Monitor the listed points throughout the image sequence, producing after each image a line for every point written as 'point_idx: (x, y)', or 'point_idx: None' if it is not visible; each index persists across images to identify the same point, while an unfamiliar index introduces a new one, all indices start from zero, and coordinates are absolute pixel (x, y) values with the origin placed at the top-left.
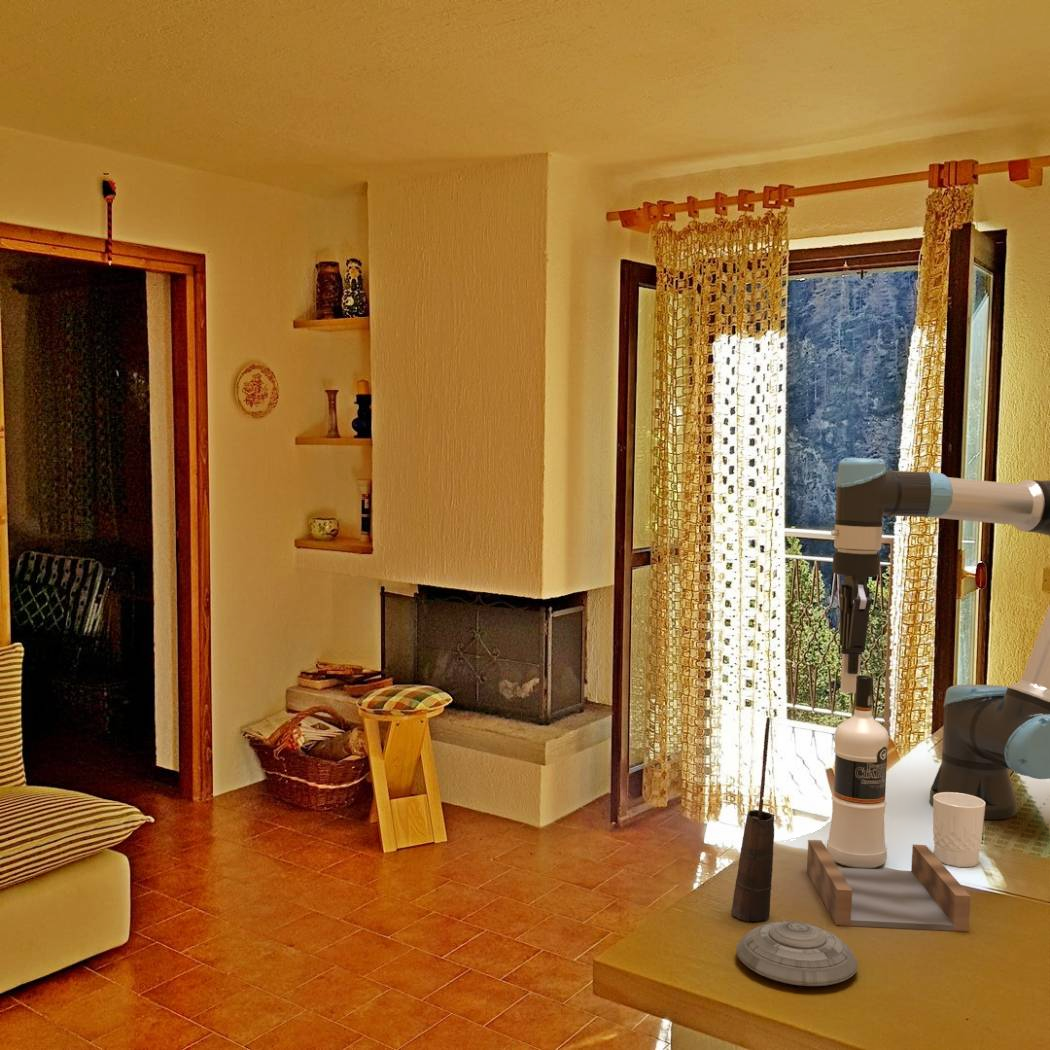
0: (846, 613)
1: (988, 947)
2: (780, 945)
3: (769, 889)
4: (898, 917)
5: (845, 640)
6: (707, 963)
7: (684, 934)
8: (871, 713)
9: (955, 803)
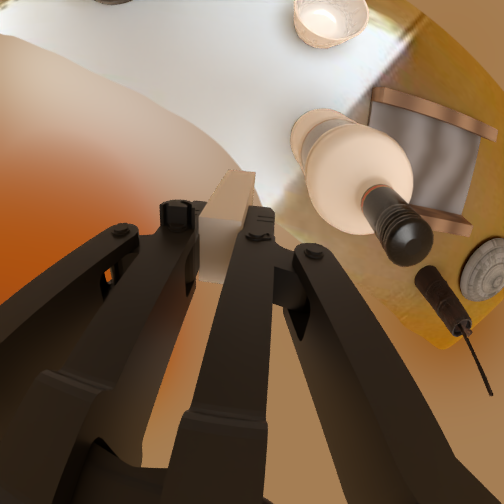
0: (142, 430)
1: (498, 127)
2: (497, 290)
3: (446, 282)
4: (464, 174)
5: (185, 306)
6: (466, 310)
7: (435, 317)
8: (388, 183)
9: (297, 2)
